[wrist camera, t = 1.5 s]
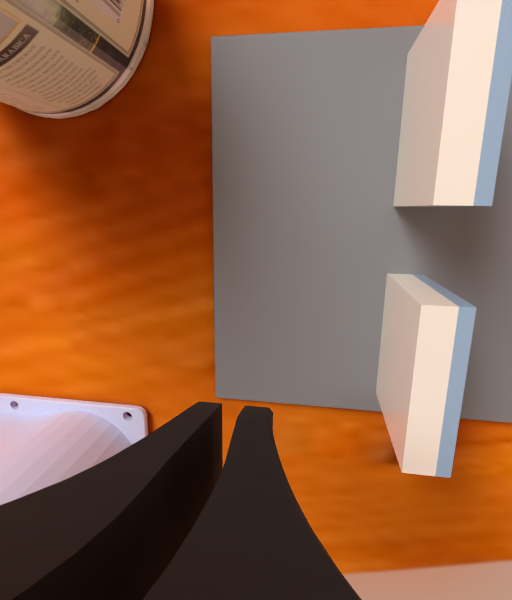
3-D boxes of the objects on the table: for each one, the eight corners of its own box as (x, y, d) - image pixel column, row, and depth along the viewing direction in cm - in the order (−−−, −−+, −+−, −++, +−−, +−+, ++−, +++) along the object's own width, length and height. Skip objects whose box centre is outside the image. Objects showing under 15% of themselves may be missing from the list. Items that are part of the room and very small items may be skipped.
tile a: (375, 392, 19) (401, 472, 13) (386, 273, 18) (421, 304, 12) (409, 395, 19) (450, 477, 13) (423, 274, 17) (476, 307, 12)
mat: (217, 393, 21) (215, 397, 20) (213, 40, 17) (210, 36, 17) (562, 423, 18) (567, 427, 18) (651, 18, 14) (661, 12, 14)
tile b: (393, 206, 17) (432, 205, 11) (407, 54, 16) (461, -37, 10) (431, 206, 17) (491, 205, 11) (449, 52, 15) (529, -42, 10)
